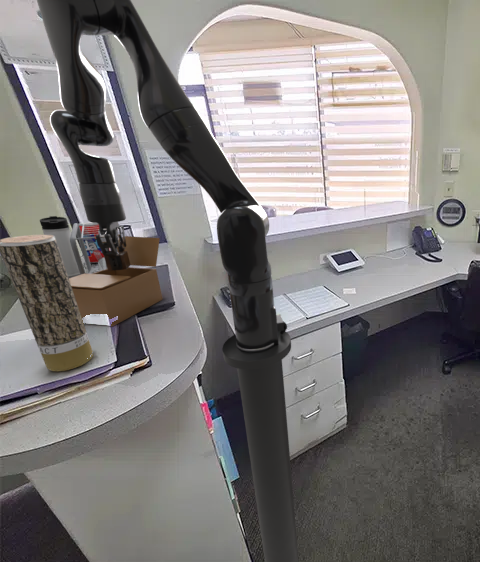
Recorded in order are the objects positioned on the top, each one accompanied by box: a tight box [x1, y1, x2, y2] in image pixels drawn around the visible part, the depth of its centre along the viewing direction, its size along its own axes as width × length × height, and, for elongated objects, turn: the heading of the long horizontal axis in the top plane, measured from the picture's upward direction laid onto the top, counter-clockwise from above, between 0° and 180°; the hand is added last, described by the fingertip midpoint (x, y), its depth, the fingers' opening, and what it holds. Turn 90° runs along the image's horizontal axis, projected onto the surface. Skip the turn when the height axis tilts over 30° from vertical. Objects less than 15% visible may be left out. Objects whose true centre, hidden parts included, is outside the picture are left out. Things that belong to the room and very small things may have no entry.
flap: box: [125, 235, 161, 268], centre depth 88 cm, size 8×13×1 cm
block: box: [104, 251, 131, 271], centre depth 82 cm, size 4×4×4 cm
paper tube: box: [0, 234, 94, 372], centre depth 57 cm, size 7×7×25 cm
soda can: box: [79, 221, 112, 264], centre depth 119 cm, size 8×8×15 cm
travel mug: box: [39, 215, 80, 278], centre depth 102 cm, size 6×7×20 cm
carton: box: [69, 266, 164, 328], centre depth 81 cm, size 17×13×10 cm
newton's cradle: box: [70, 222, 107, 275], centre depth 99 cm, size 30×10×18 cm, turn 41°
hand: (120, 266), depth 83 cm, fingers closed on block, 4 cm apart
